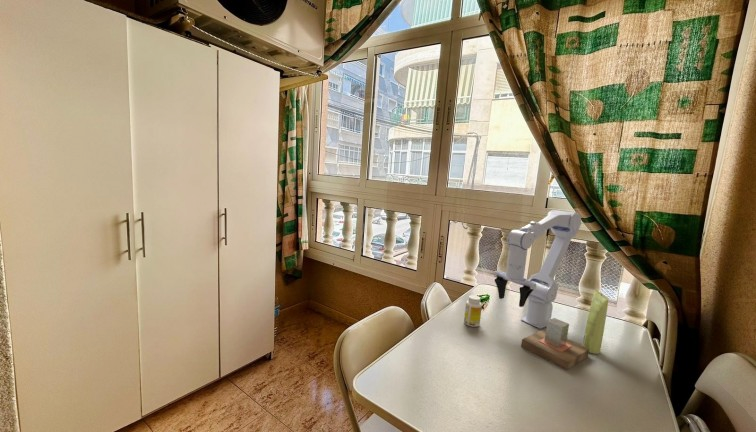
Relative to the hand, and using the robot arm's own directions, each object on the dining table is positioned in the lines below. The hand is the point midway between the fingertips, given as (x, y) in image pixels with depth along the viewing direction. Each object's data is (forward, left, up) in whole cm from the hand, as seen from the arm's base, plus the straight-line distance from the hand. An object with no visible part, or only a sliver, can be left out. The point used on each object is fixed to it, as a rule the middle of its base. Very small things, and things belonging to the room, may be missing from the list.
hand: (511, 302), depth 110 cm
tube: (-13, +22, -11) cm, 27 cm away
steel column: (-1, +16, -8) cm, 17 cm away
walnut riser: (-1, +16, -10) cm, 19 cm away
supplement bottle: (+8, -9, -11) cm, 16 cm away
